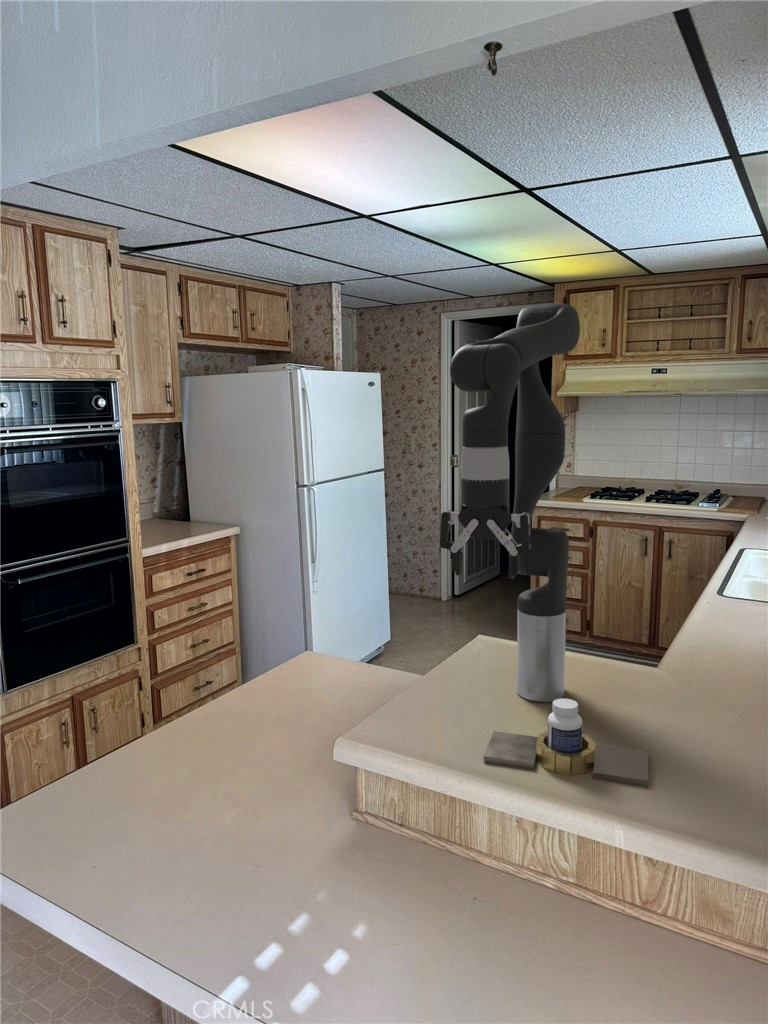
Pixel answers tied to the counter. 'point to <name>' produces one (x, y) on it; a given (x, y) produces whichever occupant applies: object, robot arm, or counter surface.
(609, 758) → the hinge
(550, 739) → the pill bottle
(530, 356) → the robot arm
